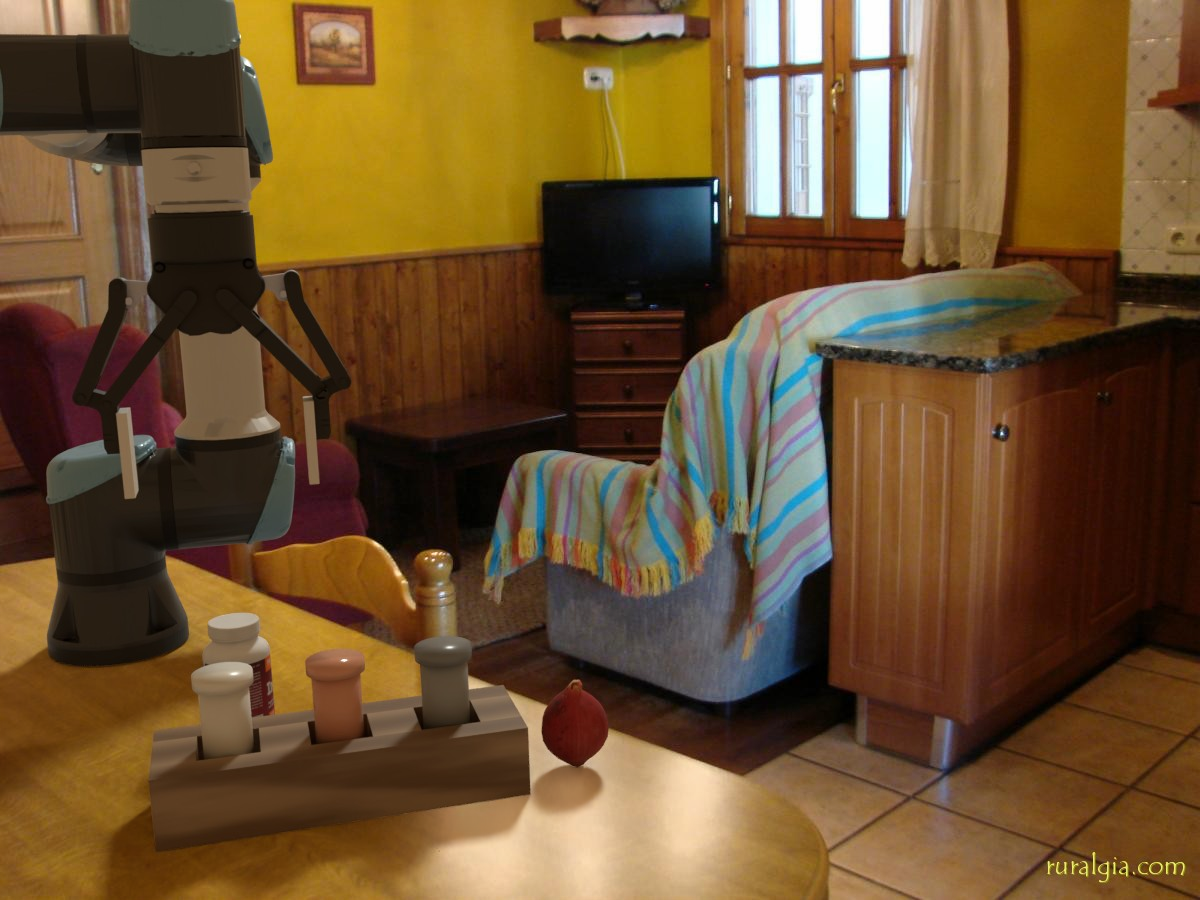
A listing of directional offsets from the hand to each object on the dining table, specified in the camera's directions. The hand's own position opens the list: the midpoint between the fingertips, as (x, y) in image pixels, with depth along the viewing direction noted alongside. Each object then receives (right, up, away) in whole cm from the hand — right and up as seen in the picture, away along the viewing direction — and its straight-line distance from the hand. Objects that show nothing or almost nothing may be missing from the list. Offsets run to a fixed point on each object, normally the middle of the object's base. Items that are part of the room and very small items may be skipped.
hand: (224, 488), depth 102 cm
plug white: (-1, -23, +6) cm, 24 cm away
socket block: (+7, -26, +10) cm, 29 cm away
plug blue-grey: (+16, -21, +11) cm, 29 cm away
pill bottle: (-5, -24, +24) cm, 34 cm away
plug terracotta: (+7, -22, +9) cm, 25 cm away
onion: (+27, -25, +14) cm, 39 cm away
